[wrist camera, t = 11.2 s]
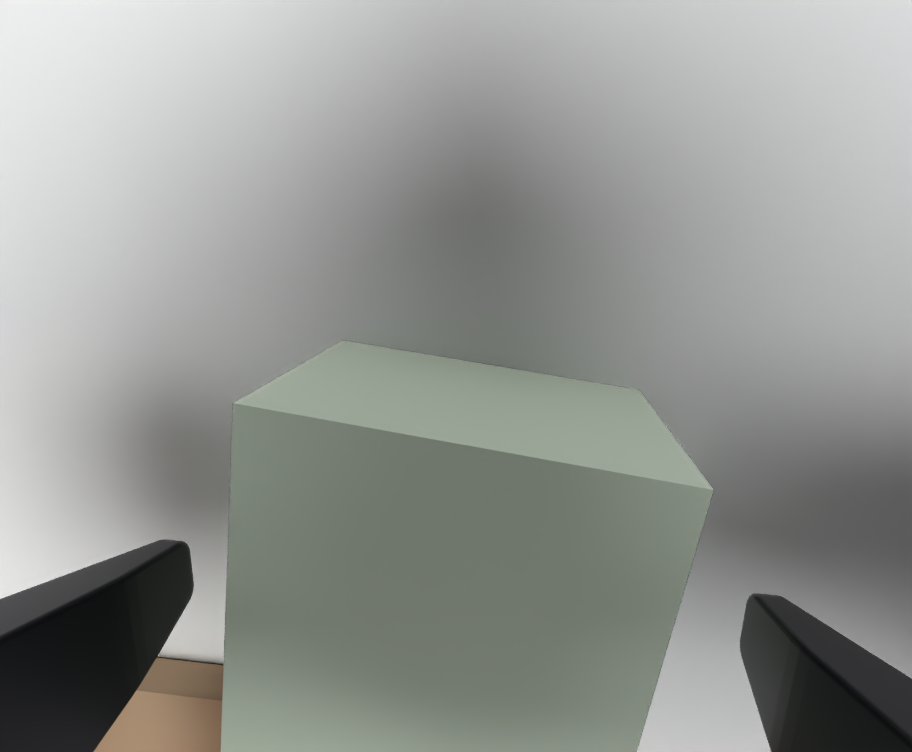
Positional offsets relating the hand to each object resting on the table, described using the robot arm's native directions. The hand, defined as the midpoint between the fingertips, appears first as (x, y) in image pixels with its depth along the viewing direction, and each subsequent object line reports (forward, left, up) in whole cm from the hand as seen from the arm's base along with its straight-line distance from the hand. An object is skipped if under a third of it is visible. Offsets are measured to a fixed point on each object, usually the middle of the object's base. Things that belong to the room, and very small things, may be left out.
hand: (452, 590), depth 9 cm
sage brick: (0, 0, -3) cm, 3 cm away
